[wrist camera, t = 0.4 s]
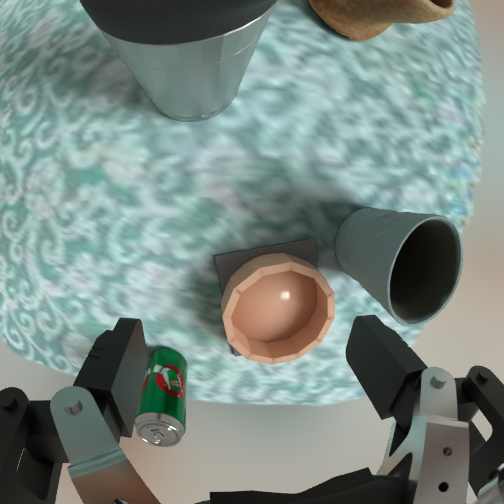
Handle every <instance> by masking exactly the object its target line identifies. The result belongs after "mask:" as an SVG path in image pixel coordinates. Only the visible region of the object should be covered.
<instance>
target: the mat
mask: <svg viewBox="0 0 504 504" xmlns="http://www.w3.org/2000/svg"><path fill="white" fill-rule="evenodd" d="M269 253H286V254H290V255H294V256H296V257H298V258H300V259H302V260H305V261H307V262H309V263H310V264H311V265H313V266H314V267H315V268H316V269H317V270H318V266H317V250H316V239H315V238H311V239H305V240H299V241H294V242H288V243H282V244H277V245H271V246H265V247H260V248H254V249H248V250H242V251H237V252H231V253H226V254H220V255H215V261H216V266H217V271H218V277H219V282H220V287H221V292H222V297H223V293H224V289H225V287H226V285H227V282H228V281H229V279H230V277H231V276H232V275H233V274H234V272H235V271H236V270H237V269H238V268H239V267H241V266H242V265H243V264H244V263H246V262H247V261H249V260H251V259H253V258H255V257H258V256H260V255H264V254H269ZM233 350H234V354H235V356H241V355H242V354H240V353H239V352H238V351H237V350H236V349H235V348H234V347H233Z"/></svg>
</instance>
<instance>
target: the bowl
mask: <svg viewBox="0 0 504 504" xmlns="http://www.w3.org/2000/svg"><path fill="white" fill-rule="evenodd" d="M221 309H222V317H223V321H224V326H225V331H226V335H227V340H228V343H229V344H231V345H232V346H233V347H234V348H235V349H236V350H237V351H238V352H239V353H240V354H242V355H243V356H244V357H245V358H246V359H248V360H253V361H258V362H262V363H267V364H272V365H273V364H277V363H282V362H286V361H290V360H294V359H298V358H300V357H302V356H303V355H304V354H306V353H307V352H308V351H310V350H311V349H313V348H314V347H315V346H316V345H318V344H319V343H320V342H322V340H323V338H324V336H325V335H326V333H327V331H328V329H329V327H330V326H331V324H332V322H333V320H334V291H333V290H332V289H331V287H330V286H329V284H328V283H327V281H326V280H325V279H324V277H323V276H322V274H321V273H320V272H319V271H318V270H317V269H316V268H315V267H314V266H313V265H311V264H310V263H309V262H307V261H305V260H302V259H300V258H298V257H296V256H294V255H290V254H286V253H269V254H264V255H260V256H258V257H255V258H253V259H251V260H249V261H247V262H246V263H244V264H243V265H242V266H241V267H239V268H238V269H237V270H236V271H235V272H234V274H233V275H232V276H231V277H230V279H229V281H228V282H227V285H226V287H225V289H224V293H223V297H222V300H221Z"/></svg>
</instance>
